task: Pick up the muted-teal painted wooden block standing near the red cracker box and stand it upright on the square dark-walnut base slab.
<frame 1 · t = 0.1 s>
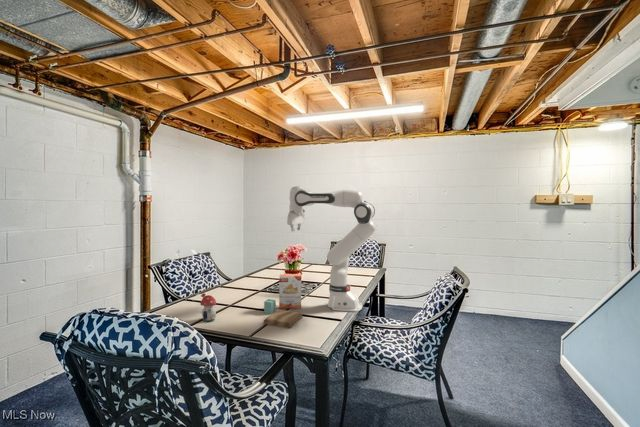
hand: (295, 230, 205), 48 cm above the table, fingers open, 8 cm apart
decorative ornament: (208, 320, 171), on the table
cracker box: (290, 307, 192), on the table
block: (269, 312, 184), on the table
base: (283, 320, 171), on the table
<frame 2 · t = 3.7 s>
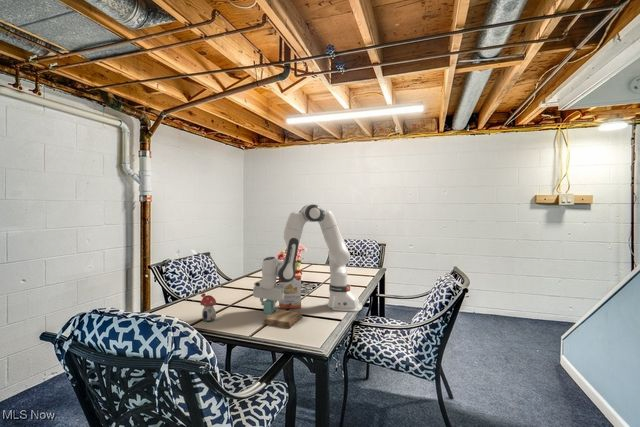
hand: (268, 306, 184), 4 cm above the table, fingers open, 6 cm apart
cracker box: (290, 307, 192), on the table, touching arm
block: (269, 311, 184), on the table, touching gripper
everything else where it was.
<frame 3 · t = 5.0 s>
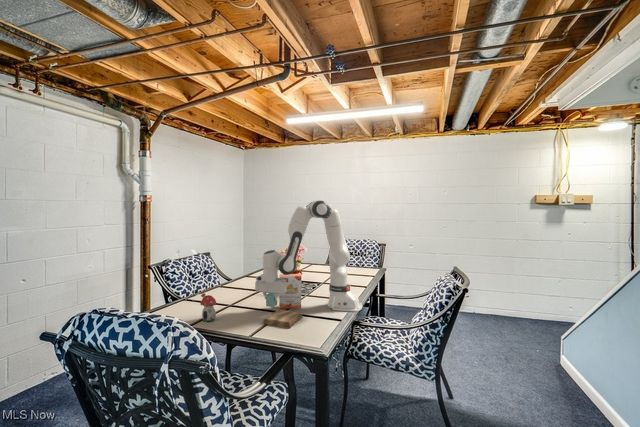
hand: (271, 299, 184), 8 cm above the table, fingers closed on block, 5 cm apart
cracker box: (290, 307, 192), on the table
block: (271, 305, 184), point 4 cm above the table, touching gripper
everything else where it was.
when the fingers open (7 cm above the table, at t = 9.4 s): block stays where it is, resting on base.
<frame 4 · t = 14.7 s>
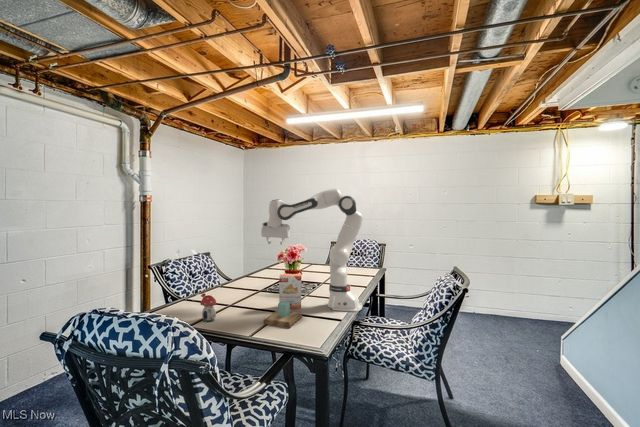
hand: (275, 244, 201), 39 cm above the table, fingers open, 8 cm apart
block: (283, 315, 171), point 3 cm above the table, touching base
everything else where it was.
at the end: block inside the target area on the base (0.6 cm from its centre), point 3.0 cm above the base's base; block touching base; block tilted 0° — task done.
